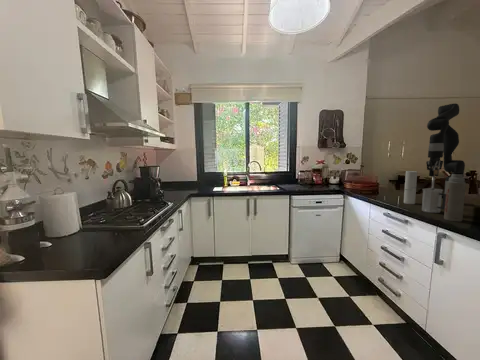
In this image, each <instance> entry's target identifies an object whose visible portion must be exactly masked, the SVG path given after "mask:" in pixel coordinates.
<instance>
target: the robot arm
mask: <svg viewBox="0 0 480 360" xmlns="http://www.w3.org/2000/svg"><path fill="white" fill-rule="evenodd" d="M458 115H460V106H459V104H458V103H456V102H455V103H449V104H444V105H440V106H439V107H438V108H437V116H436V117H434V118H431V119H430V120H429V121H428V122H427V124H426V128H427V130H428V131H431V132H432V131H439V132H437V133H433V134H431V135H430V137H429V141H428V142H429V144H428V150H427V151H428V152H427V158H428V159H429V160H426V163H425V164H426V170H428V171H429V173H428V176H429V177H433V176H434V170H438V175H435V177H439V174H440V173H439V171H440V170H442V167H443V169H444V171H445V172H448V173H452V172H461V173H463V176H464V174H465V168H466V163H465V161H464V160H461V159H453V153H454V152H455V150H456V149H457V147H458V146H459V145H460V144H459V143H460V138H459V133H458V132H457V131H456V130H455V128H453V127H452V126H451V125H450V121H451V120H452V119H453V118H455V117H457V116H458ZM442 158H443V160H441V159H442ZM450 177H451V176H446V177H445V182H444V192H443V193H444V194H446V189H447V181H449V178H450Z"/></svg>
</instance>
